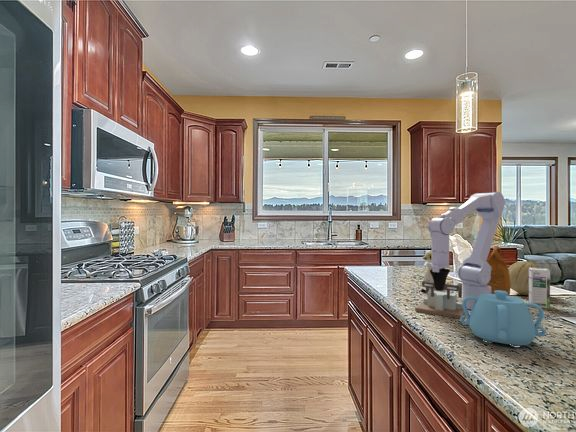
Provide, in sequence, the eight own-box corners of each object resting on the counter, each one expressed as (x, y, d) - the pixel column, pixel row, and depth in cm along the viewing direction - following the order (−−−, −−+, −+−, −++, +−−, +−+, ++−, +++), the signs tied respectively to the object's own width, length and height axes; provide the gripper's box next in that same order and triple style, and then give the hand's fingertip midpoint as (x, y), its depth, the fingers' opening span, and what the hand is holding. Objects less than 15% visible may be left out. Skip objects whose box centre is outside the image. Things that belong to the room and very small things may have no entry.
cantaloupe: (498, 292, 147) (498, 259, 147) (518, 289, 153) (518, 257, 153) (534, 300, 133) (534, 263, 133) (554, 297, 140) (555, 261, 140)
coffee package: (510, 299, 135) (510, 246, 135) (510, 306, 125) (511, 248, 125) (482, 295, 141) (482, 244, 141) (480, 302, 130) (480, 247, 130)
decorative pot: (504, 328, 101) (504, 284, 101) (553, 349, 85) (553, 297, 85) (455, 330, 99) (455, 285, 99) (496, 352, 83) (496, 299, 83)
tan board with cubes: (461, 318, 109) (462, 300, 109) (415, 310, 118) (415, 293, 118) (466, 310, 119) (467, 293, 119) (423, 303, 128) (423, 287, 128)
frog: (441, 296, 139) (441, 253, 139) (414, 290, 150) (414, 250, 150) (456, 293, 146) (456, 252, 146) (429, 287, 156) (430, 249, 156)
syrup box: (531, 306, 124) (531, 268, 124) (528, 303, 129) (528, 266, 129) (550, 309, 122) (550, 270, 121) (546, 305, 127) (546, 267, 127)
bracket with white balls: (458, 301, 111) (458, 286, 111) (421, 295, 118) (421, 282, 118) (461, 297, 118) (462, 283, 118) (426, 292, 125) (426, 279, 125)
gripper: (432, 249, 125) (432, 284, 125) (423, 252, 113) (422, 291, 113) (453, 250, 120) (452, 287, 121) (445, 254, 109) (445, 295, 109)
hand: (439, 289), depth 116 cm, fingers closed on bracket with white balls, 2 cm apart
